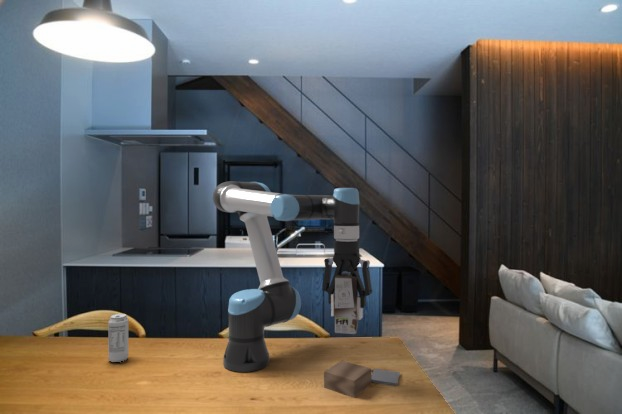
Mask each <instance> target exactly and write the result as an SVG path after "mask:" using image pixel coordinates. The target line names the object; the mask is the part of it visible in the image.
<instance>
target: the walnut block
mask: <svg viewBox="0 0 622 414" xmlns="http://www.w3.org/2000/svg"><path fill="white" fill-rule="evenodd" d="M371 375H372V368H370V367H367V366H364V365H360V364H357V363H353V362H350V361H346V360H341V361H339V362H337V363H336V364H334V365H332V366H331V367H329V368H327V369H326V370H324V372H323V388H324V389H327V390H329V391H333V392H336V393H339V394H342V395H345V396H347V397H350V398H353V399H354V398H357V396H358V395H360V394H361V393H362V392H363V391H365V390H366V389H367V388H369V387H370V386H371V385H372V382H371Z"/></svg>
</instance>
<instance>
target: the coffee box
mask: <svg viewBox="0 0 622 414" xmlns="http://www.w3.org/2000/svg"><path fill="white" fill-rule="evenodd" d="M334 293H335V316H334V333H335V334H346V335H347V334H349V335H350V334H351V335H356V334H357V331H358V327H359V326H358V325H359V320H357V297H358V296H359V293H358V290H357V277H354V276H352V275H351V273H350V272H342V273H341V275H338V276H336V277H335V292H334Z"/></svg>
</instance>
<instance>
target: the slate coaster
mask: <svg viewBox="0 0 622 414" xmlns="http://www.w3.org/2000/svg"><path fill="white" fill-rule="evenodd" d="M400 374H401V373H400V371H395V370H394V371H393V370H386V369H379V368H378V369H377V368H374V369H373V371H372V372H371V384H372V383H374V384H381V385H387V386H392V387H393V386H394V387H397V386H398V384H399V381H400V380H399V379H400V376H401V375H400Z"/></svg>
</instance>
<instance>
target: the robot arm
mask: <svg viewBox="0 0 622 414" xmlns="http://www.w3.org/2000/svg"><path fill="white" fill-rule="evenodd" d="M212 202H213V204H214V206H215V207H216V208H217V209H218V210H219V211H221V212H225V213H235V214H236V213H237V214H238V217H239V220H240V221H242V222H244V224H245V228H246V231H247V236H248V241H249V244H250V248H251V252H252V255H253V259H254V260H253V261H254V263H255V268H256V271H257V276H258V279H259V283H260V284H259V286H258V288H250V289H243V290H239V291H237V292H234V293H233V294H232V295H231V296H230V297H229V299H228V300H229V301H228V308H227V311H228V341H227V344H226V348H225V352H224V354H223V356H222V357H223V359H222V361H223V362H222V363H223V364H222V365H223V367H224V368H225V369H226V370H228V371H231V372H236V373H248V372H255V371H258V370H263V369H264V368H266V367H267V366H268V365H269V364H270V353H269V351H268V346H267V343H266V341H265V328H267V327H271V326H274V325H279V324H281V323H282V324H283V323H286V322H287V323H288V322H289V321H292V320H294V319H295V318H297V316H298V315H299V313H300V310H301V306H302V297H301V295H300V292H299V291H298V290H297V289H296V287H293V286H291V284H290V280H288V279H287V278H286V277H284V274H283V271H282V268H281V263H280V260H279V256H278V252H277V248H276V245H275V241H274V238H273V234H272V230H271V227H270V226H271V225H270V223H269V219H268V217H272V218H274V219H275V220H276V221H283V222H290V221H305V220H306V221H311V220H333V238H334V239H335V240H334V241H333V257H331V258H330V257H326V258H324V260H323V262H324V266H325V267H324V273H323V283H322V288H321V290H322V291H323V292H326V293H327V294H328V295H327V296H328V300H327V301H328V305H330V312H331V313H330V317H335V277H336V276H338V275H341V273H344V272H346V273H351V275H352V276H354V277H357V290H358V297H357V320H358V321H361V320H362V319H363V317H364V313H363V311H364V308H366V305H367V304H366V303H367V300H366V297H368V296H370V295H371V294H372V293H373V288H372V281H371V274H370V263H371V262H370V260H368V259H367V260H364V259H361V257H360V241H359V240H358V239H360V222H359V221H360V193H359V190H358V189H357V188H356V187H338V188H334V190H333V194H332V195H326V194H324V195H323V194H320V195H319V194H317V195H316V194H291V193H290V194H289V193H282V192H281V193H279V192H272V191H271V190H270V188H269V187H268V185H266V184H264V183H262V182H257V181H234V180H233V181H231V180H230V181H225V182H222V183H220V184H218V185H217V186H216V187H215V188H214V191H213V192H212ZM333 264H335V265H336V268H335V270H334V274H333V276H332V269H333ZM359 264H360V267H361V273H362V278H361V276H360V273H359V272H360V271H359V268H358V266H359ZM331 278H332V280H331ZM362 279H363V281H362Z"/></svg>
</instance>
